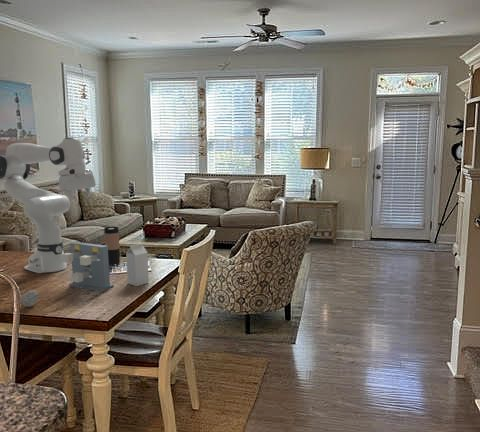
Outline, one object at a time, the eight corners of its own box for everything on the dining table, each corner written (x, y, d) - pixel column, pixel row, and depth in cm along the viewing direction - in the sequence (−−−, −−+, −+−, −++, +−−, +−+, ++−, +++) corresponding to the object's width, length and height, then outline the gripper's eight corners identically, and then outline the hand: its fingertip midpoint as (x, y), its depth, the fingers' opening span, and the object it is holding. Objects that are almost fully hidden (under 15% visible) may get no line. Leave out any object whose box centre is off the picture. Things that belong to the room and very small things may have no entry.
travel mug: (103, 263, 260) (101, 227, 256) (116, 261, 265) (114, 226, 261) (109, 266, 254) (107, 229, 251) (122, 263, 259) (121, 228, 256)
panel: (69, 285, 222) (66, 244, 218) (81, 281, 229) (79, 240, 225) (101, 291, 213) (99, 248, 209) (113, 286, 220) (111, 244, 216)
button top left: (62, 261, 213) (61, 254, 213) (78, 256, 222) (78, 249, 222) (68, 262, 212) (67, 254, 211) (84, 257, 221) (84, 250, 220)
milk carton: (148, 283, 225) (147, 244, 222) (136, 286, 220) (134, 246, 216) (139, 280, 229) (138, 242, 226) (127, 283, 224) (125, 244, 221)
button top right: (80, 264, 208) (79, 256, 208) (96, 259, 217) (96, 251, 217) (86, 265, 207) (85, 257, 206) (102, 260, 216) (102, 252, 215)
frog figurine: (32, 309, 191) (31, 293, 190) (18, 308, 193) (16, 291, 192) (42, 304, 197) (41, 288, 195) (28, 303, 199) (27, 287, 197)
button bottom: (72, 281, 212) (71, 273, 212) (88, 275, 221) (88, 268, 221) (78, 282, 211) (77, 274, 210) (94, 276, 220) (94, 269, 219)
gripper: (87, 169, 242) (90, 196, 244) (55, 172, 224) (59, 201, 226) (96, 168, 239) (99, 195, 241) (65, 171, 221) (69, 200, 223)
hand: (80, 198), depth 233 cm, fingers open, 8 cm apart
